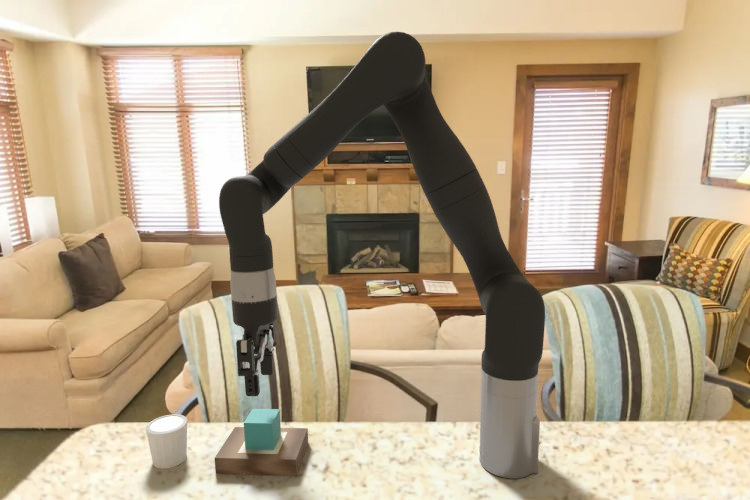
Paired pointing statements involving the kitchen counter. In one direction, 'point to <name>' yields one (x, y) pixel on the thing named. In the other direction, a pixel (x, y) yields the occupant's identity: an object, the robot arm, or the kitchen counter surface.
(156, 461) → the white tapered cup
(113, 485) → the kitchen counter surface
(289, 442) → the walnut plinth
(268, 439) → the teal cube
